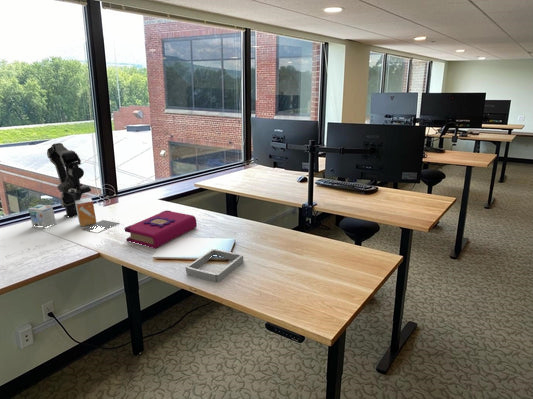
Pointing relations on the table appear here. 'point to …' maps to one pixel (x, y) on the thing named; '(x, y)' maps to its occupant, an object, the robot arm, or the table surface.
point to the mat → (100, 223)
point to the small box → (85, 211)
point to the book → (160, 228)
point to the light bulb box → (42, 215)
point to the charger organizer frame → (238, 260)
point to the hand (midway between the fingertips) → (77, 203)
